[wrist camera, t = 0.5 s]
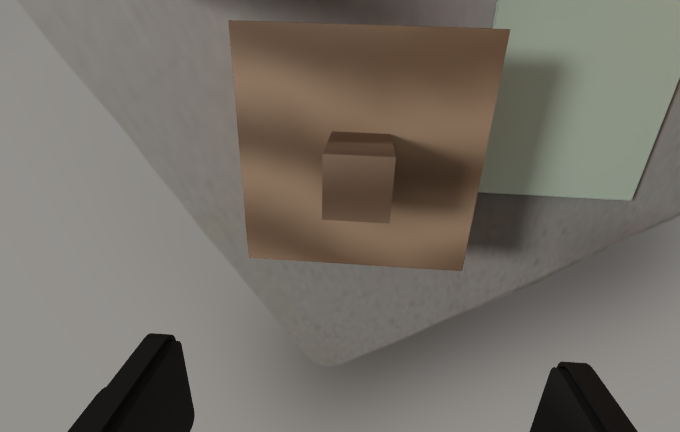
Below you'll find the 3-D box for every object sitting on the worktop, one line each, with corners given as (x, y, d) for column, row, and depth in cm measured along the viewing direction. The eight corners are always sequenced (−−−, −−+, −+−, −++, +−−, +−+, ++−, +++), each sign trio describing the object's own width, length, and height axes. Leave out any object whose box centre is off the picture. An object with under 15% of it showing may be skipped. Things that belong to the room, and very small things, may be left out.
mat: (505, -47, 24) (508, -49, 23) (720, -42, 23) (727, -44, 23) (462, 189, 30) (464, 191, 30) (627, 198, 30) (631, 200, 29)
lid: (236, 21, 21) (187, 14, 16) (501, 29, 21) (553, 25, 15) (254, 247, 28) (224, 301, 22) (457, 260, 27) (481, 319, 21)
